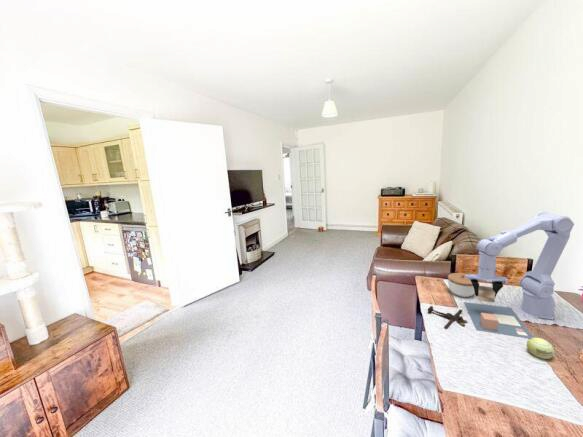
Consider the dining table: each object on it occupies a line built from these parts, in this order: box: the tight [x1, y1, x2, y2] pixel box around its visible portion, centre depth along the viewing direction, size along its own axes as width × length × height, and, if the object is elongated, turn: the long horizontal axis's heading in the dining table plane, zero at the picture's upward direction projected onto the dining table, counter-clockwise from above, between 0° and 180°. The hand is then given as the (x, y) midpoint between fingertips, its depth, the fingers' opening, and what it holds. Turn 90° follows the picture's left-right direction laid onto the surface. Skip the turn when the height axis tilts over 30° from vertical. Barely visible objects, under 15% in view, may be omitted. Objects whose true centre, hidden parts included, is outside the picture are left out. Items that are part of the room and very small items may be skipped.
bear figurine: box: [427, 305, 468, 329], centre depth 107 cm, size 18×4×14 cm
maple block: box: [475, 285, 496, 303], centre depth 106 cm, size 6×6×4 cm
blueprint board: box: [463, 301, 535, 340], centre depth 104 cm, size 18×22×1 cm
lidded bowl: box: [447, 272, 475, 298], centre depth 124 cm, size 13×13×11 cm
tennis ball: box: [526, 337, 555, 360], centre depth 83 cm, size 6×7×7 cm
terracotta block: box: [480, 313, 498, 331], centre depth 98 cm, size 4×4×4 cm
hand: (484, 296), depth 106 cm, fingers closed on maple block, 5 cm apart
